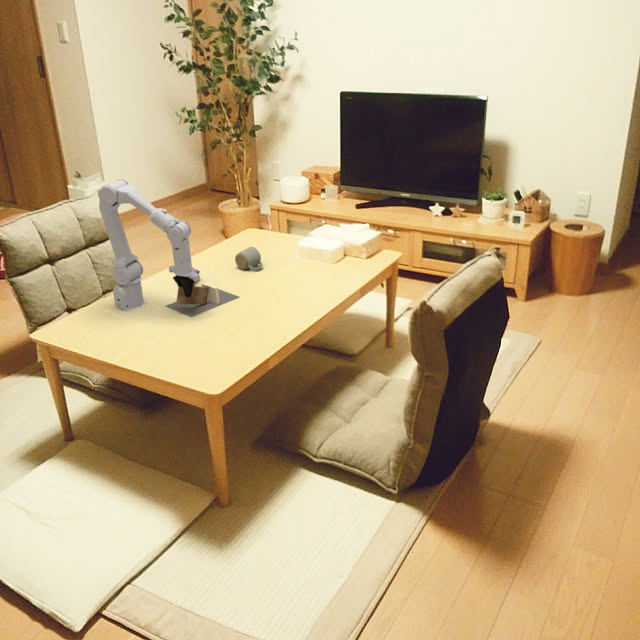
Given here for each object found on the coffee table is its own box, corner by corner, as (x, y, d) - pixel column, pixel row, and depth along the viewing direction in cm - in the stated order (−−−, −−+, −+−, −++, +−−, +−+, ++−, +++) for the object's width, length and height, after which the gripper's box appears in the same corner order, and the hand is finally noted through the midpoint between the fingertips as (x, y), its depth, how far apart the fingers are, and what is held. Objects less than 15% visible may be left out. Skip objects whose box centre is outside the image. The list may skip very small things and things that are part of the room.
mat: (191, 318, 225) (191, 316, 225) (165, 307, 235) (165, 305, 235) (240, 298, 240) (240, 297, 240) (214, 288, 249) (213, 287, 249)
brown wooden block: (178, 304, 226) (181, 287, 225) (176, 303, 227) (178, 286, 226) (206, 304, 235) (208, 287, 234) (203, 302, 236) (206, 286, 235)
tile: (217, 304, 234) (215, 288, 232) (202, 298, 239) (201, 283, 237) (220, 303, 235) (218, 287, 233) (205, 297, 240) (204, 282, 238)
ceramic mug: (234, 268, 269) (232, 250, 265) (247, 262, 275) (246, 244, 271) (254, 274, 263) (252, 255, 260) (267, 267, 269) (266, 249, 266)
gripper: (205, 259, 221) (209, 297, 226) (178, 250, 230) (183, 287, 236) (188, 265, 216) (192, 303, 222) (161, 256, 225) (167, 293, 231)
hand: (186, 295), depth 228 cm, fingers closed on brown wooden block, 1 cm apart
